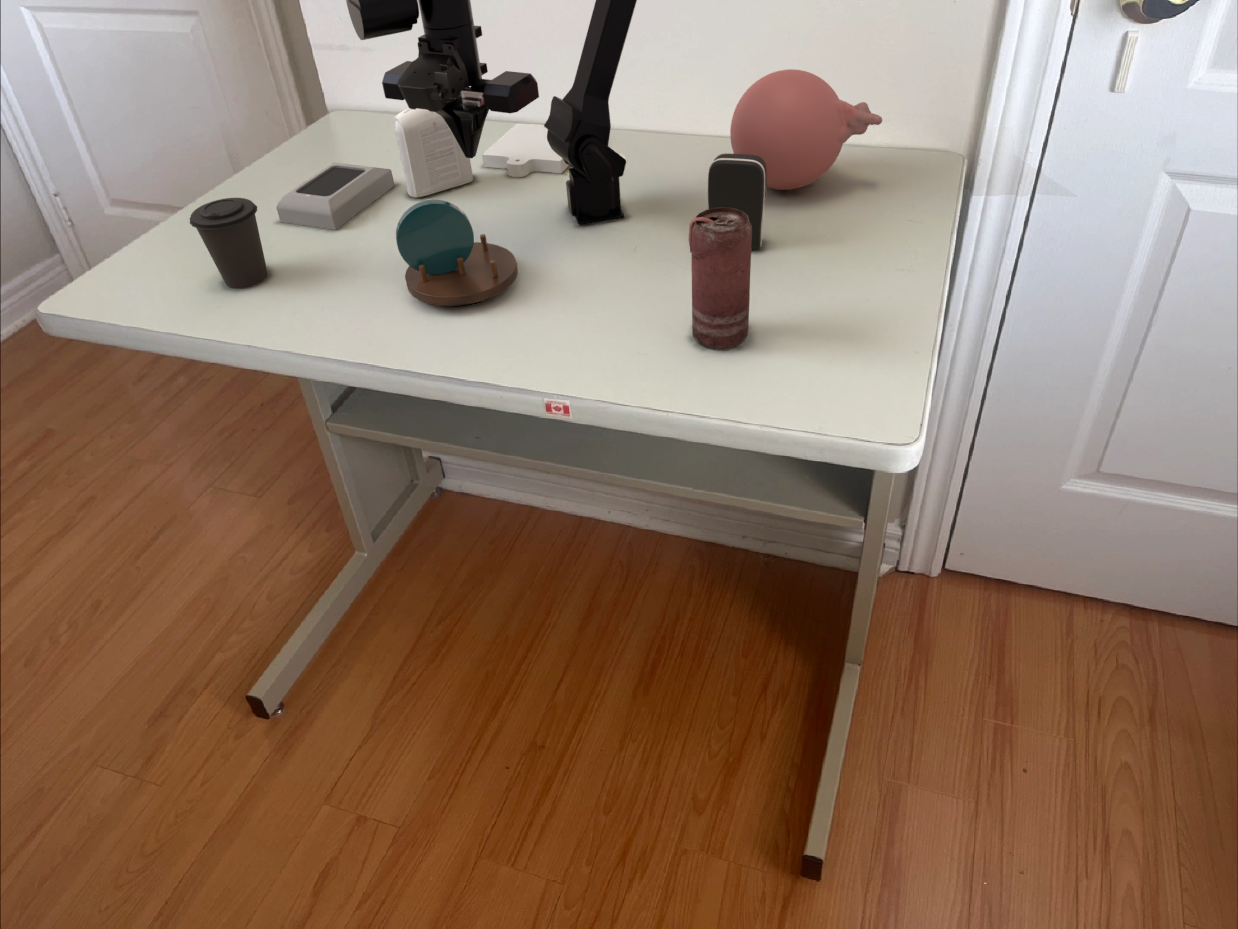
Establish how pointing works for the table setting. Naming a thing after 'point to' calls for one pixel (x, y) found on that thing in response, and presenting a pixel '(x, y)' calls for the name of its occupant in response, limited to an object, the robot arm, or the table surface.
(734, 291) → the worn red soda can
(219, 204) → the coffee cup
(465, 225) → the dish rack
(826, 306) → the table surface
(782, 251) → the table surface
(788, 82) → the round balloon
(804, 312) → the table surface
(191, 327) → the table surface
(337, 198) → the grey flat block
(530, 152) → the mounting plate
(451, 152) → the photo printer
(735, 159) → the black rounded block
